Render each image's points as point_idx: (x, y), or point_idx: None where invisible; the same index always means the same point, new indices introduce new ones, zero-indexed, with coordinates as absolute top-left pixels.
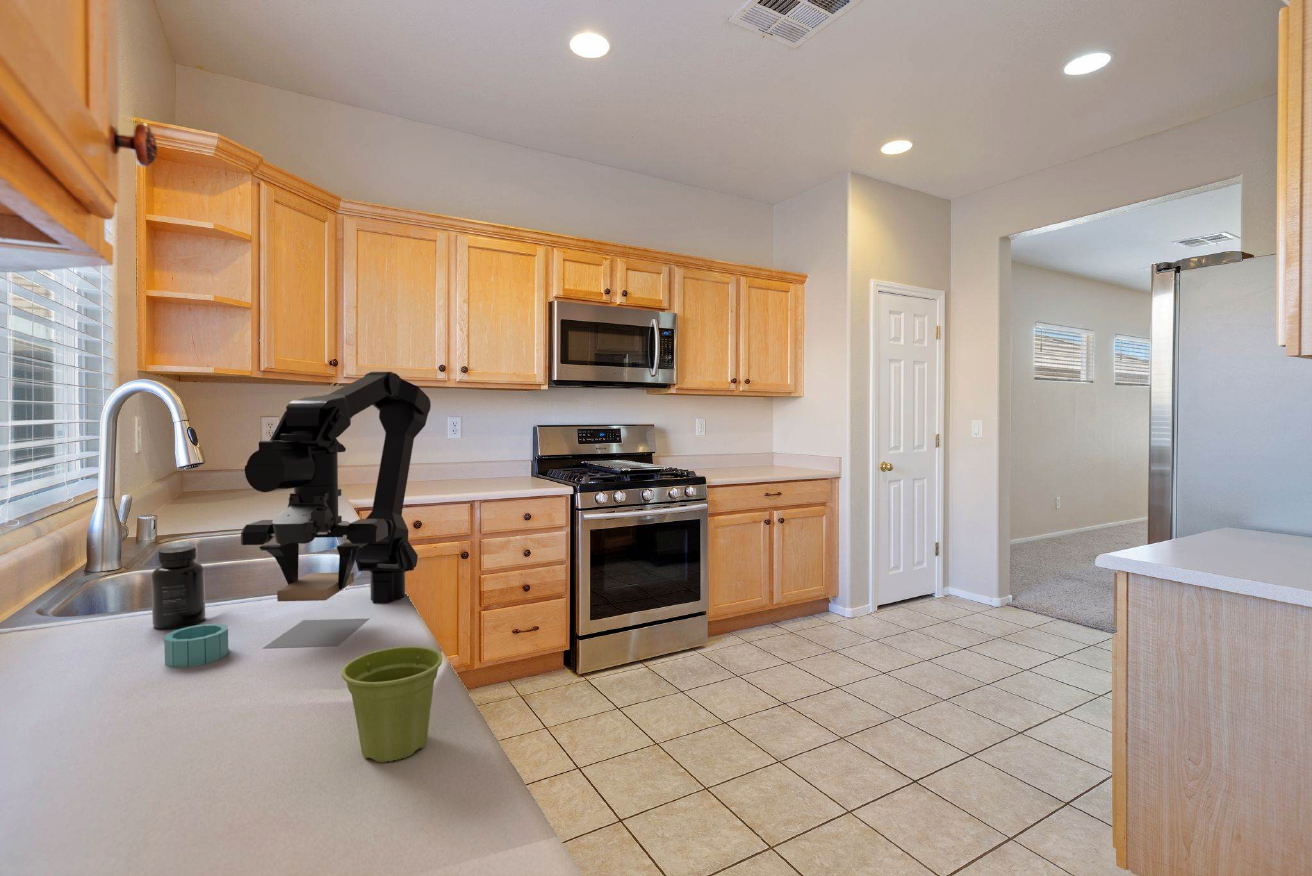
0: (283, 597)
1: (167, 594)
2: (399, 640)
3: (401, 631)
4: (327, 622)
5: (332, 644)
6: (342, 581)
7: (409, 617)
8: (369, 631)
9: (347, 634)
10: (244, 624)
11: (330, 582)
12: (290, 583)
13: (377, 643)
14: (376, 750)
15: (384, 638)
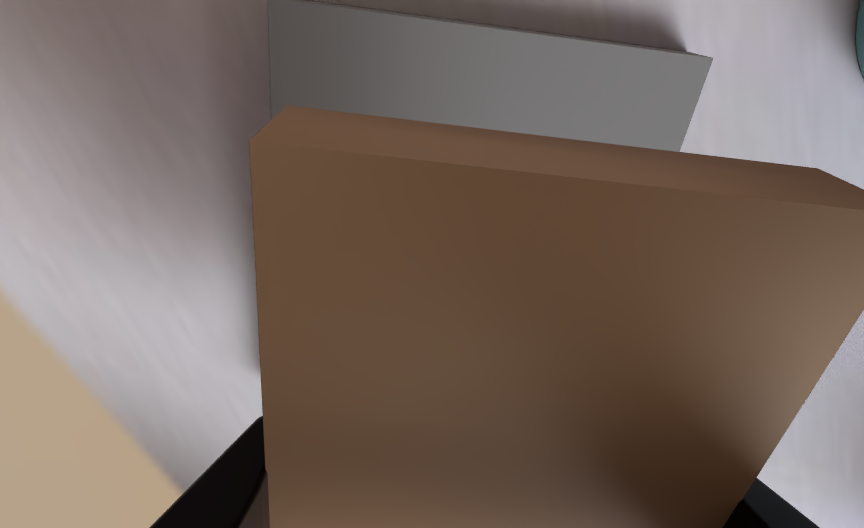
0: (784, 174)
1: None
2: (28, 172)
3: (93, 299)
4: None
5: (311, 35)
6: (217, 470)
7: (152, 454)
8: (257, 323)
9: None
10: (799, 469)
11: (344, 461)
12: (755, 495)
13: (131, 147)
14: None
15: (131, 217)
